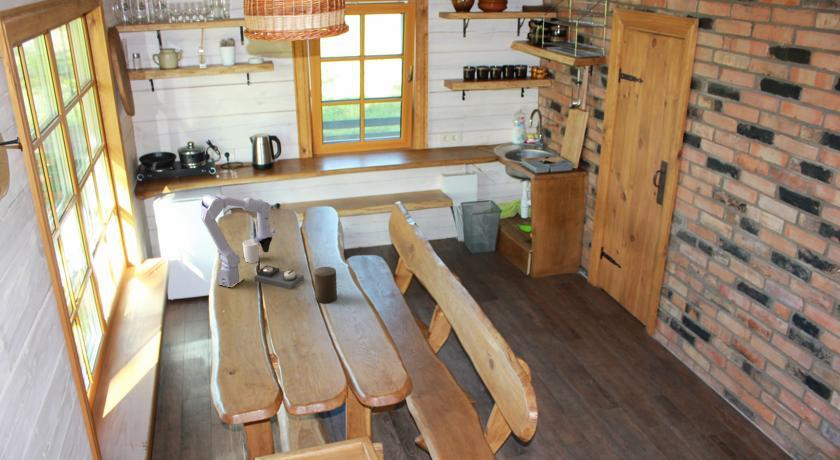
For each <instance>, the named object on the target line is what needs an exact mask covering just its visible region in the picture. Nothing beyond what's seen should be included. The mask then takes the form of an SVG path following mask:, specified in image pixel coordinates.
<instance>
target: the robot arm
mask: <svg viewBox="0 0 840 460" xmlns="http://www.w3.org/2000/svg"><path fill="white" fill-rule="evenodd" d="M199 204H200V206H201V207H200V208H201V221H202V222H203V225H204V226H205V228H206V229H207V232H208V233H209V235H210V237H211V239H212V241H213V242H214V244H215V246H216V248H217V253H218V259H219V260H220V261H221V268H220V269H219V271H218V272H217V278H218V280H217V281H218V283H219V285H223V286H228V287H230V286H232V285H233V284H235V283H238V282H239V278H240V272H239V264H240V262H241V257H240V256H239V254H237V253H236V252H235V251H234V250H233V248H232V247H231V246H230V244H229V243H228V240H227V239H226V237H225V235H224V233H223V232H222V230H221V228H220V226H219V223H218V222H217V220H216V218H217V217H218V216H220V214H221V212H222V211H223V210H224V209H227V207H228V206H233V207H239V208H240V207H241V208H242V210H243V211H247V212H254V213H256V219H257V220H256V222H257V233H258V234H257V235H256V236H255V237H254V238H253V239H254V243H259V245H260V247H261V249H262V251H263V253H268V252H269V250H270V245H271V242H272V241H273V236H274V235H273V234H276V229H275V228H271V219H270V213H271V211H272V207H271V204H270V203H269V202H267V201H265V200H263V199H260V198H259V199H254V198H253V197H250V196H248V197H245V198H243V199H240V198H237V197H231V196H226V195H222V194H216V193H215V194H212V193H207V194H204V196H203V197H202V199H201V201H200V202H199ZM219 285H218V286H219ZM223 286H222V287H223ZM228 287H227V288H228Z"/></svg>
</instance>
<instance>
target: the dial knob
mask: <svg viewBox="0 0 840 460" xmlns="http://www.w3.org/2000/svg"><path fill="white" fill-rule="evenodd" d="M295 274H296V272H295V271H294V269H293V270H287V271H286V272H285V273H284V278H285V279H293V278H295Z"/></svg>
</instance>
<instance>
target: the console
mask: <svg viewBox="0 0 840 460" xmlns="http://www.w3.org/2000/svg"><path fill="white" fill-rule="evenodd" d="M265 267H272V268H273V271H272V272H271V273H267V272H263V269H264V268H265ZM256 272H257V273H256V275H255V276H254V282H256V283H261V284H265V285H269V286H274V287H278V288H282V289H287V290H292V289H294V288H295V287H296V286H298V285H300V284H301V283H302V282H303V281H304V280H305V275H304V274H298V273H295V278H293V279H285V278H284V273H285V272H286V271H285V270H281V269H280V268H279V267H275V266H271V265H267V264H266V265H264V266H263V267H262V268H260V269H258V270H257V271H256Z"/></svg>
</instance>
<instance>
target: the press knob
mask: <svg viewBox="0 0 840 460" xmlns="http://www.w3.org/2000/svg"><path fill="white" fill-rule="evenodd" d="M272 267H273V266H271V267H265V268H264V269H263V272H267V273H271V272H272V271H273V268H272Z"/></svg>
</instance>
